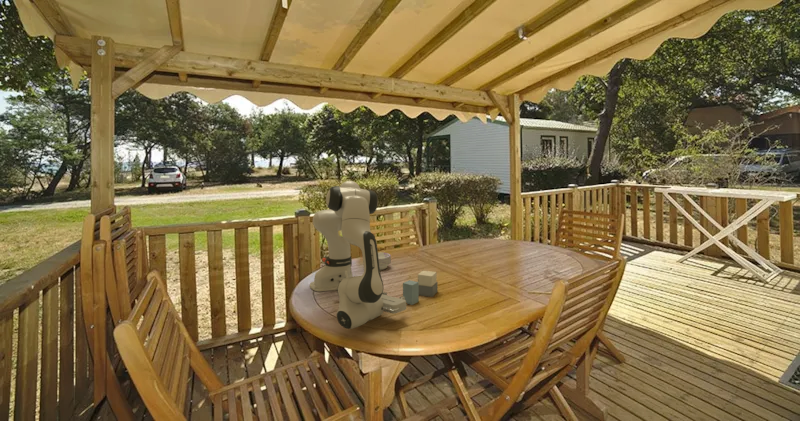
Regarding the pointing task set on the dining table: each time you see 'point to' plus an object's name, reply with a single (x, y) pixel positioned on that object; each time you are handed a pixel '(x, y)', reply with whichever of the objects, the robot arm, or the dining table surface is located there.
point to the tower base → (428, 290)
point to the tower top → (427, 278)
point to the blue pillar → (411, 292)
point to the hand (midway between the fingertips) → (394, 296)
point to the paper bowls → (384, 260)
